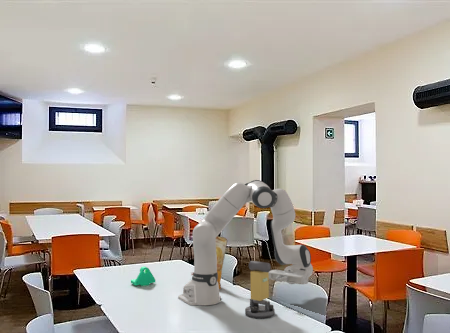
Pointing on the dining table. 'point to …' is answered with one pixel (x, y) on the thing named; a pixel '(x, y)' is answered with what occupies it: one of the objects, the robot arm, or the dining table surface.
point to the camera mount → (144, 277)
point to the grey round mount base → (260, 310)
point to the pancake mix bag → (220, 255)
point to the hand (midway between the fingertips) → (278, 279)
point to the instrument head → (259, 281)
